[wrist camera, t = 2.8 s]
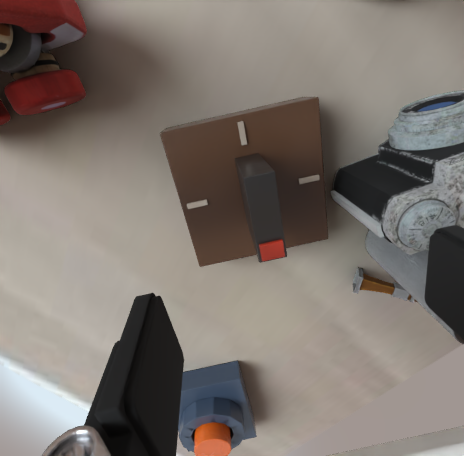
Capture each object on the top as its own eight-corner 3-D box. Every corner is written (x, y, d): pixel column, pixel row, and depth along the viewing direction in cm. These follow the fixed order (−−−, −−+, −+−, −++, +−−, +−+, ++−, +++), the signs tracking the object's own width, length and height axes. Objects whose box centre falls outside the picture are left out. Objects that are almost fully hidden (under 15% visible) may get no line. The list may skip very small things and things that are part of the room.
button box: (164, 376, 31) (158, 413, 27) (237, 360, 31) (242, 395, 27) (189, 431, 35) (187, 470, 31) (253, 417, 35) (259, 455, 31)
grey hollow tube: (362, 262, 27) (446, 352, 17) (367, 217, 25) (464, 291, 15) (410, 256, 27) (519, 342, 17) (418, 210, 25) (546, 280, 15)
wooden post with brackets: (439, 292, 28) (455, 322, 24) (351, 270, 30) (353, 294, 26) (447, 276, 27) (465, 305, 23) (356, 254, 29) (359, 277, 25)
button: (190, 424, 29) (189, 443, 27) (225, 417, 29) (227, 435, 27) (199, 445, 30) (199, 464, 29) (233, 437, 30) (234, 456, 29)
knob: (234, 158, 19) (243, 179, 14) (258, 152, 19) (276, 171, 14) (247, 226, 21) (260, 265, 16) (269, 221, 21) (288, 259, 16)
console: (165, 128, 20) (158, 133, 18) (303, 96, 20) (319, 96, 17) (200, 248, 25) (199, 268, 22) (315, 223, 24) (329, 240, 22)
